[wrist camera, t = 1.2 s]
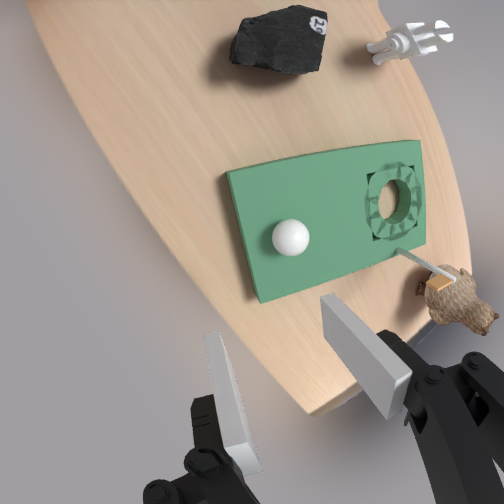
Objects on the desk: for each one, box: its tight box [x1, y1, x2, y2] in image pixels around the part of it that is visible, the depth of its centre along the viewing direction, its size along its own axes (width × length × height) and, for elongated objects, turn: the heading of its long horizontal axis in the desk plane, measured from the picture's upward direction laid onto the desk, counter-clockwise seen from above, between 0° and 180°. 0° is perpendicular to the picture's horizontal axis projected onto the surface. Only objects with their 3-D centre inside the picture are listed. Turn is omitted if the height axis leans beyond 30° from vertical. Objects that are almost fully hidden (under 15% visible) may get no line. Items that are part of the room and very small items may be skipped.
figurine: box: [416, 265, 499, 336], centre depth 32 cm, size 9×10×15 cm
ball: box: [272, 219, 309, 256], centre depth 26 cm, size 4×4×4 cm
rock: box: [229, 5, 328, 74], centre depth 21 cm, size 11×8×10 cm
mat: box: [226, 140, 456, 304], centre depth 25 cm, size 14×24×12 cm, turn 103°
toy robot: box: [366, 21, 453, 66], centre depth 20 cm, size 4×8×12 cm, turn 119°
